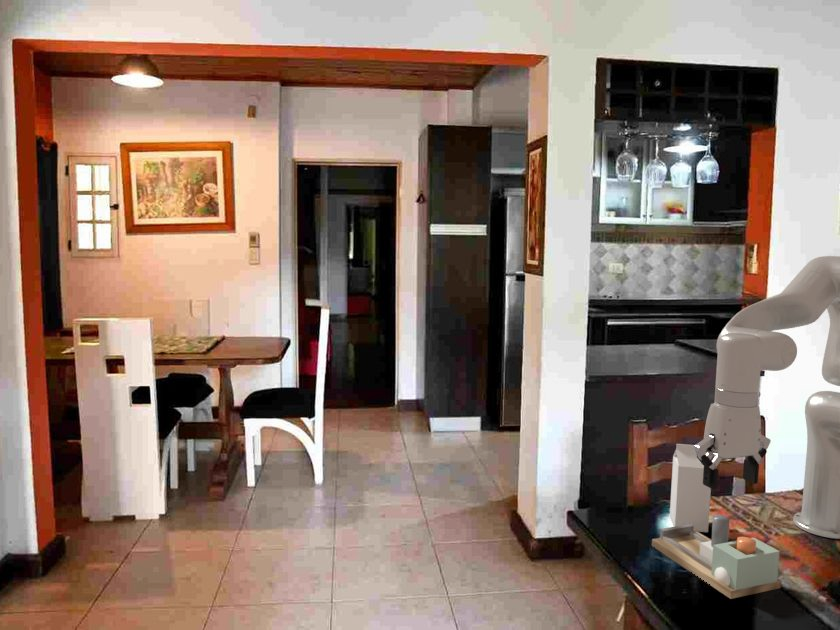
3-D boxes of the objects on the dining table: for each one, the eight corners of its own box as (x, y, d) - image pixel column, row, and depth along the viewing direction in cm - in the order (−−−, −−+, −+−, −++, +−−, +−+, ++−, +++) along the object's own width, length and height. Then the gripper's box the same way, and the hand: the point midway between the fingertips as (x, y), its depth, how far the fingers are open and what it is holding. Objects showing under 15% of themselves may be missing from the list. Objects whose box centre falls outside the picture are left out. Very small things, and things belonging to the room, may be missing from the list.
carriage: (718, 553, 136) (721, 511, 135) (737, 564, 131) (741, 521, 130) (699, 556, 134) (701, 514, 133) (717, 568, 129) (720, 524, 128)
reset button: (745, 550, 128) (746, 535, 128) (758, 558, 125) (760, 543, 125) (732, 553, 127) (733, 538, 127) (745, 560, 124) (746, 545, 124)
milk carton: (708, 533, 149) (713, 451, 147) (674, 530, 150) (679, 448, 148) (701, 519, 156) (706, 441, 154) (669, 517, 157) (674, 439, 155)
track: (696, 537, 146) (697, 522, 146) (780, 588, 126) (781, 570, 125) (651, 545, 142) (652, 530, 142) (730, 598, 122) (731, 581, 121)
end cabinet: (751, 573, 131) (753, 537, 130) (776, 588, 126) (779, 551, 125) (709, 582, 128) (711, 545, 127) (733, 598, 122) (736, 559, 121)
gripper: (756, 390, 133) (750, 473, 135) (685, 396, 128) (680, 482, 130) (787, 399, 126) (780, 486, 128) (713, 406, 121) (707, 496, 123)
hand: (730, 484), depth 129 cm, fingers open, 9 cm apart
